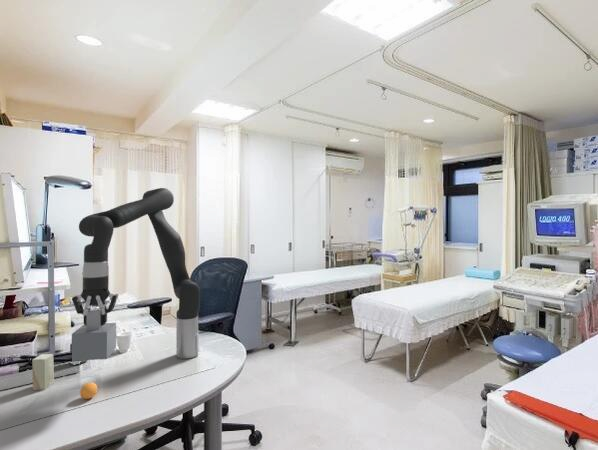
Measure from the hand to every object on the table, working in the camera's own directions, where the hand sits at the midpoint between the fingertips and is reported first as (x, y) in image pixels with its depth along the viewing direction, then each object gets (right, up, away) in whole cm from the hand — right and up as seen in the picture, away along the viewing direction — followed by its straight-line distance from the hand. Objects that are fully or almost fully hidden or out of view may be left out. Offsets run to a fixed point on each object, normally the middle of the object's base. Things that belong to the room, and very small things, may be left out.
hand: (95, 324), depth 113 cm
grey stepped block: (0, -10, 0) cm, 10 cm away
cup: (-13, -24, +41) cm, 49 cm away
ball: (-2, -22, 0) cm, 22 cm away
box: (-23, -25, +8) cm, 35 cm away
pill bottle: (-24, -25, +28) cm, 44 cm away
